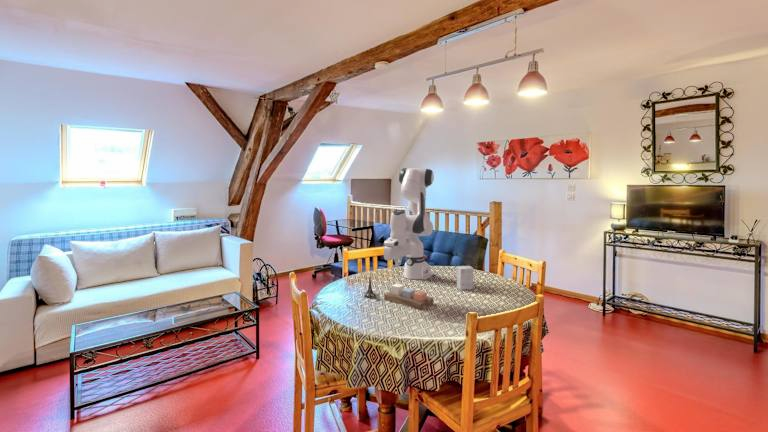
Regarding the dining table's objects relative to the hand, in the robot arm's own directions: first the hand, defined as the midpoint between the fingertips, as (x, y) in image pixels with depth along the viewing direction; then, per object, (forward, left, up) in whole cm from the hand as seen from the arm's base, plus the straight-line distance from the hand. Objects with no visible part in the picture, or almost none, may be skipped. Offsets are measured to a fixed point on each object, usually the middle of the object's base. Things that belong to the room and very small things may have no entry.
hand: (398, 265), depth 218 cm
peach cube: (0, +15, -17) cm, 23 cm away
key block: (0, +7, -19) cm, 20 cm away
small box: (-41, +19, -19) cm, 49 cm away
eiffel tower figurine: (+8, -13, -20) cm, 25 cm away
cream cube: (0, 0, -16) cm, 16 cm away
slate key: (0, +7, -17) cm, 19 cm away
